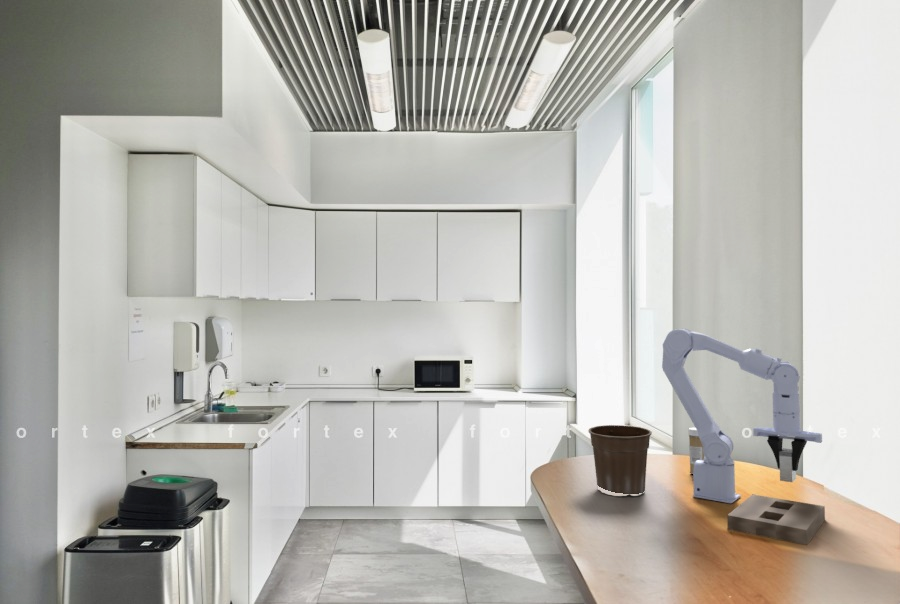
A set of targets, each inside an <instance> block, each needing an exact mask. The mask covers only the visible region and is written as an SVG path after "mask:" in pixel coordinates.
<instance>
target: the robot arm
mask: <svg viewBox="0 0 900 604" xmlns="http://www.w3.org/2000/svg"><path fill="white" fill-rule="evenodd" d="M691 351H693V352H694V351H708V352H711V353H714V354H715V355H719V356H721V357H724V358H726V359H729V360H731V361H734V362H737V363H738V366H739V368H740V369H741V371H745V372H747V373H749V374H751V375H754V376H757V377H759V378H761V379H763V380H766V381H768V380H771V381H772V383H773V392H772V393H771V394H772V395H771V396H772V422H773V423H772V427H759V426H758V427H753V429H752V431H753V437H765V438H766V437H767V440H766V443H768V446H769V448H770V449H771V452H772V454H773V455H774V458H775V461H776V466H777V469H778V470H780V458H779V451H780V450H782V449H783V441H784V439H785V440H792V441H791V449H792V453H793V471H796V472H797V471H798V469H799V463H800V458H801V456H802V453H803V451H804V449H805V447H806V445H807V442H813V443H819V444H821V443H822V442H823V433H821V432H820V433H819V432H811V431H807V430H806V431H805V430H801V418H800V417H801V415H800V411H801V410H800V407H801V406H800V394H799V385H798V384H799V382H800V374H799V371H798V369H797V367H796V366H795V365H793V364H791V363H790V362H788V361H782V359H783V358H780V357H777V358H776V357H773V356H771V355H768V354H765V353H763V352H762V349H760V348H755V349H753V348H748V349H745V350H743V349H742V350H741V349H740V348H737V347H735V346H732V345H730V344H728V343H726V342H723V341H722V340H719V339H717V338H714V337H712V336H710V335H708V334H704V333H701V332H698V331H691V330H689V329H687V328H676V329H673V330H671V331H669V332H668V333H667V335H666V337H665V339H664V341H663V342H662V365H661V367H662V371H663V372H664V374H665V376H666V378H667V379H668V382H669V383H670V385H671V387H672V389H673V390H674V392H675V394H676V395H677V398H678V399H679V401H680V402H681V404H682V406H683V407H684V410H685V411H686V413H687V415H688V417H689V418H690V421H691V422H692V423H693V425H694V428H696V429H697V431H698V435H699V438H700V441H701V442H702V445H703V453H704V456H705V458H704V459H703V460H696V462H695V463H694V468H693V475H692V477H693V479H692V480H693V482H692V484H693V494H692V497H693V498H698V499H704V500H709V501H715V502H721V503H726V504H733V503H734V502H735V501H736V500H738V499H739V498H740V497H741V494H738V493H736V479H735V477H736V474H735V470H736V469H735V460H734V459H732V457H731V456H732V452H733V451H734V443H733V440H732V439H731V437H729V435H727V434H726V433H724V432H723V430H722V429H721V427H720V425H718V424H717V422H716V421H715V420H714V418H713V416H712V415H711V413H710V411H709V409H708V408H707V406H706V404H705V403H704V402H705V401H703V399H702V397H701V396H700V394H699V392H698V390H697V388H696V387H695V385H694V384H693V382H692V379H691V378H690V376H689V375H688V373H687V371H686V370H685V368H684V366H685V364H686V361H687V359H688V355H689V353H691Z"/></svg>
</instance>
